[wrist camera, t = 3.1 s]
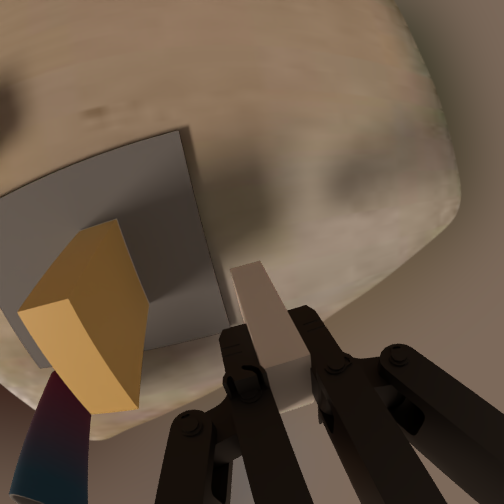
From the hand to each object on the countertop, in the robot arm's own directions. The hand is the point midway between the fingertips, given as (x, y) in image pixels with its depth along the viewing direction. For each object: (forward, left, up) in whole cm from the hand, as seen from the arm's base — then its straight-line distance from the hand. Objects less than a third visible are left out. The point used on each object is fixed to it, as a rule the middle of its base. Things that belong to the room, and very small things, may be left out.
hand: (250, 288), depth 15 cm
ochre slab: (0, -9, -7) cm, 11 cm away
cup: (+11, -20, -8) cm, 24 cm away
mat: (0, -12, -8) cm, 14 cm away
